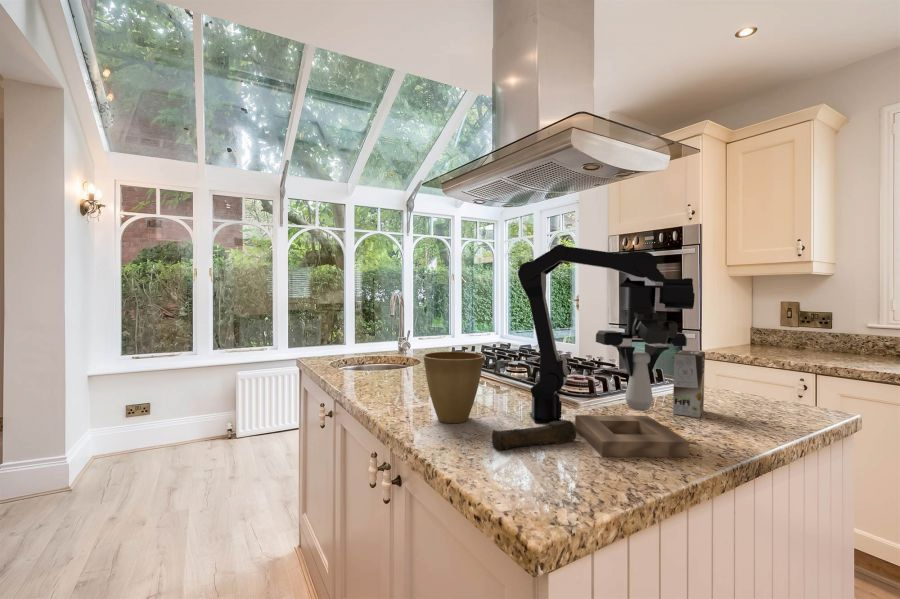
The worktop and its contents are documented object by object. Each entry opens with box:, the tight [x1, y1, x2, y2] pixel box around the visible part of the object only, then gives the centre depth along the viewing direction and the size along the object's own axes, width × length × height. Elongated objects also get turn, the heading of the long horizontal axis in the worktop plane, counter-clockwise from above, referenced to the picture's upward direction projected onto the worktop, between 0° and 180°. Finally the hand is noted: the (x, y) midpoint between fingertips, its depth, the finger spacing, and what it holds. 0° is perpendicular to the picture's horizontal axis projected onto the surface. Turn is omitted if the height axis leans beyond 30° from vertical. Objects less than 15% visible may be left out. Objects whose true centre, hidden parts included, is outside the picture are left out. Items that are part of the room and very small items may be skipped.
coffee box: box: [672, 349, 706, 419], centre depth 112 cm, size 9×6×16 cm
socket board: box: [574, 414, 691, 458], centre depth 90 cm, size 17×17×3 cm
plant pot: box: [423, 351, 485, 424], centre depth 105 cm, size 15×15×16 cm
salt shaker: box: [624, 350, 654, 412], centre depth 97 cm, size 6×6×13 cm
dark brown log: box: [491, 419, 577, 452], centre depth 87 cm, size 19×4×5 cm, turn 105°
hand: (639, 375), depth 97 cm, fingers closed on salt shaker, 4 cm apart
